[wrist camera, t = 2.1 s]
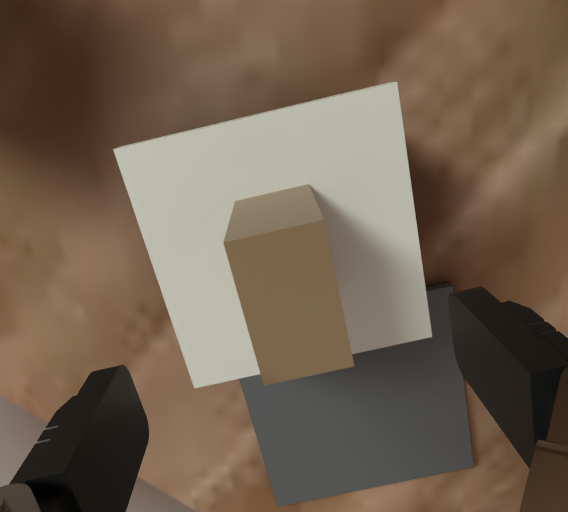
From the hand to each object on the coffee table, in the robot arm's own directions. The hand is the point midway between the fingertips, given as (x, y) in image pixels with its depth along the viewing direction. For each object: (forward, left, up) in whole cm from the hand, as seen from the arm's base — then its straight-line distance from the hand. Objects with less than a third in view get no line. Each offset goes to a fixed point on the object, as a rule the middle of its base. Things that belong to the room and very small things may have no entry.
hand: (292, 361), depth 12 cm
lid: (0, 0, -10) cm, 10 cm away
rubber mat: (-2, +14, -17) cm, 22 cm away
